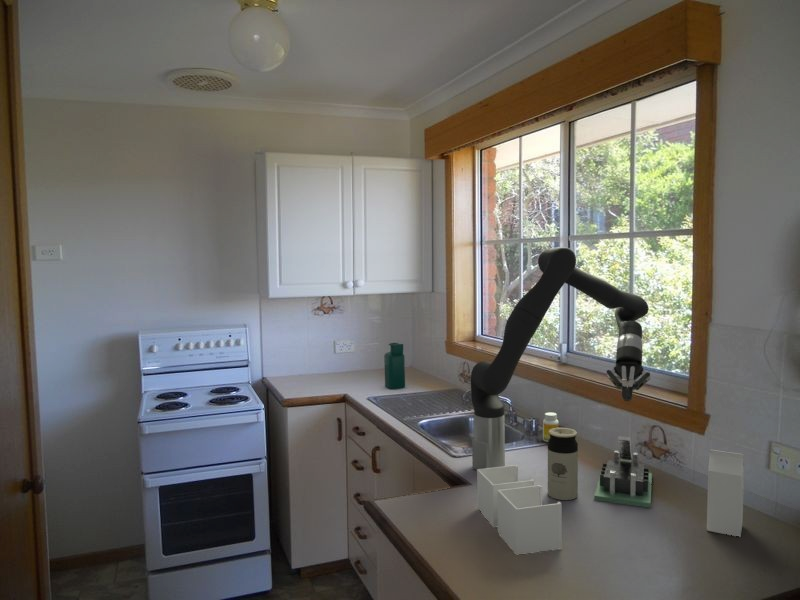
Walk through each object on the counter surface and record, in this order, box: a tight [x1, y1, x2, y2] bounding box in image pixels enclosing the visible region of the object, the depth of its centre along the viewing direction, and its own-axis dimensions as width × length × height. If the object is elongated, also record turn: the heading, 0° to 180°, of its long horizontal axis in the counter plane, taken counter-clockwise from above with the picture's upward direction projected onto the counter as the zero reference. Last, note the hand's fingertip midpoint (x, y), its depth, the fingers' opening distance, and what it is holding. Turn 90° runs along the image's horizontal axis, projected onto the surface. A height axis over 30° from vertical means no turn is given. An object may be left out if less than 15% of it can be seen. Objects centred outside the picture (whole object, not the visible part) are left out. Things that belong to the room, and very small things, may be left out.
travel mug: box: [547, 427, 579, 501], centre depth 167 cm, size 8×8×18 cm
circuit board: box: [593, 468, 653, 508], centre depth 171 cm, size 22×14×1 cm, turn 157°
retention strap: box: [617, 435, 633, 462], centre depth 172 cm, size 16×3×1 cm
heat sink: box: [599, 450, 650, 498], centre depth 171 cm, size 17×12×7 cm
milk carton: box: [706, 449, 745, 538], centre depth 146 cm, size 7×7×19 cm
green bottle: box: [383, 342, 406, 391], centre depth 296 cm, size 10×8×22 cm
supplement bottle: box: [542, 412, 560, 443], centre depth 213 cm, size 5×5×10 cm
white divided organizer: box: [476, 464, 563, 555], centre depth 149 cm, size 25×11×11 cm, turn 13°
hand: (627, 399), depth 179 cm, fingers closed
